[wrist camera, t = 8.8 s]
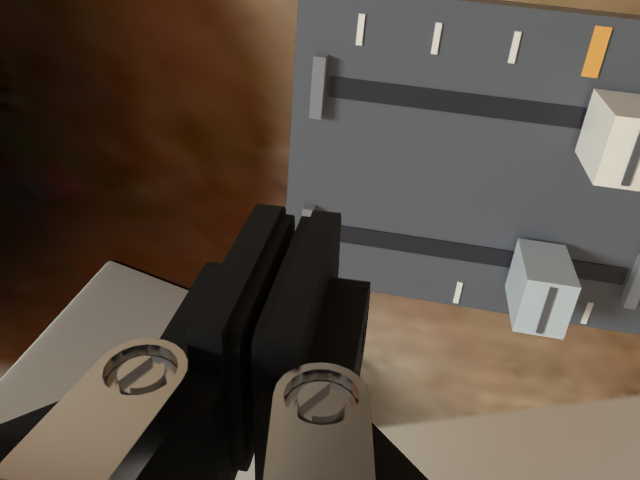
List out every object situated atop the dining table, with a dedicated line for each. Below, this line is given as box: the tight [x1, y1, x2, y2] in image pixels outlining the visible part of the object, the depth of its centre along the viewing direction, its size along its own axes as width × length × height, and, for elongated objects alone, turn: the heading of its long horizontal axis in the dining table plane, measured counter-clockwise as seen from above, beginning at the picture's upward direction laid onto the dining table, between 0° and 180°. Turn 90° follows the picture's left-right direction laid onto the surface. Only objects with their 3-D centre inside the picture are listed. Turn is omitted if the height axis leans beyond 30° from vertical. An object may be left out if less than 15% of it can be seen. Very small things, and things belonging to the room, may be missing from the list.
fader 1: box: [505, 238, 581, 339], centre depth 30 cm, size 3×2×4 cm
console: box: [286, 0, 640, 335], centre depth 31 cm, size 16×20×2 cm
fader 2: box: [575, 89, 640, 192], centre depth 26 cm, size 3×2×4 cm
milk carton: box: [0, 261, 188, 424], centre depth 33 cm, size 7×7×19 cm
